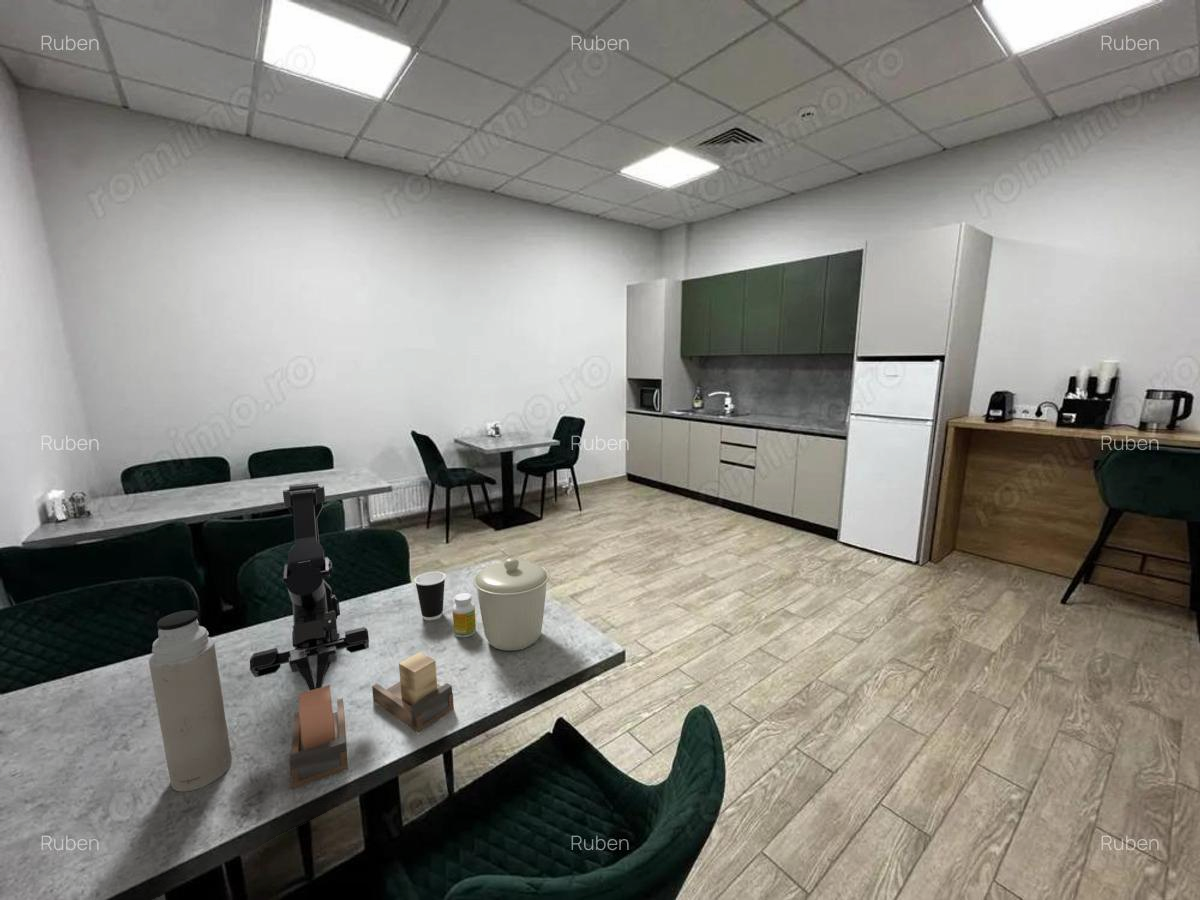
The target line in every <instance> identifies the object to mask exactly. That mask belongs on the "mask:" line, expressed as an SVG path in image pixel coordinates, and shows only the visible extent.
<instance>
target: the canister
mask: <svg viewBox="0 0 1200 900" xmlns="http://www.w3.org/2000/svg"><path fill="white" fill-rule="evenodd" d="M549 580H550V572H549V570H548V569H546V568H545V567H544V566H543V565H540V564H537V563H536V562H533V561H528V560H519V559H517V558H516V557H509V558H507V559H506V560H504V561H500V562H496V563H493V564H491V565H488V566H487V567H485V568H483V569H481V570H480V571H479V572H477V573H476V574H475V576H474V577H473V583H472V584H473V586H474V587H475V588H476V592H477V599H478V604H479V609H480V615H481V616H480V617H481V621H482V627H483V631H484V632H483V633H484V635H485V638H486V640H487V642H488V643H489V645H491V646H492V647H493V648H495V649H498V650H500V651H508V652H510V651H518V650H519V651H520V650H523V649H525V648H529V647H531V646H533V644H535V643H536V642H537V641H538V639H539V637H540V635H541V633H542V631H543V624H544V623H543V622H544V613H545V607H546V606H545V604H546V594H547V583H548V582H549Z"/></svg>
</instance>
